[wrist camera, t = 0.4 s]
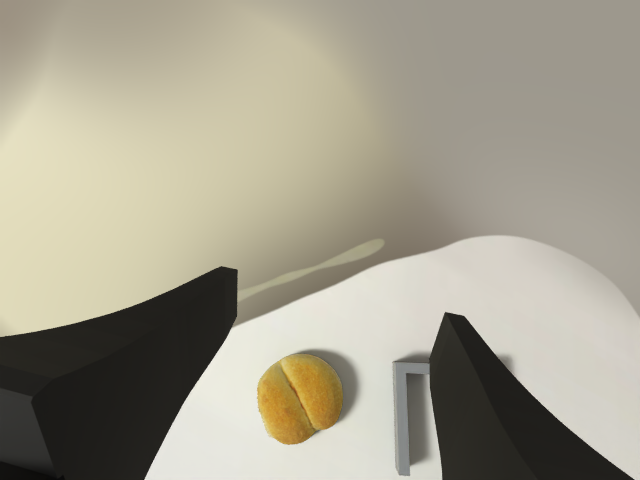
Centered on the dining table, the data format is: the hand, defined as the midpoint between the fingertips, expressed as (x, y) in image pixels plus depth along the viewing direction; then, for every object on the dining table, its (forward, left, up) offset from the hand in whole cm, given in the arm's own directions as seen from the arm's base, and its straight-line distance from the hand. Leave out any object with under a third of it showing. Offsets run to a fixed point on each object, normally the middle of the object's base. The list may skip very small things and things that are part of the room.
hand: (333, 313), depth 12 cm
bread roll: (-6, +5, -29) cm, 30 cm away
